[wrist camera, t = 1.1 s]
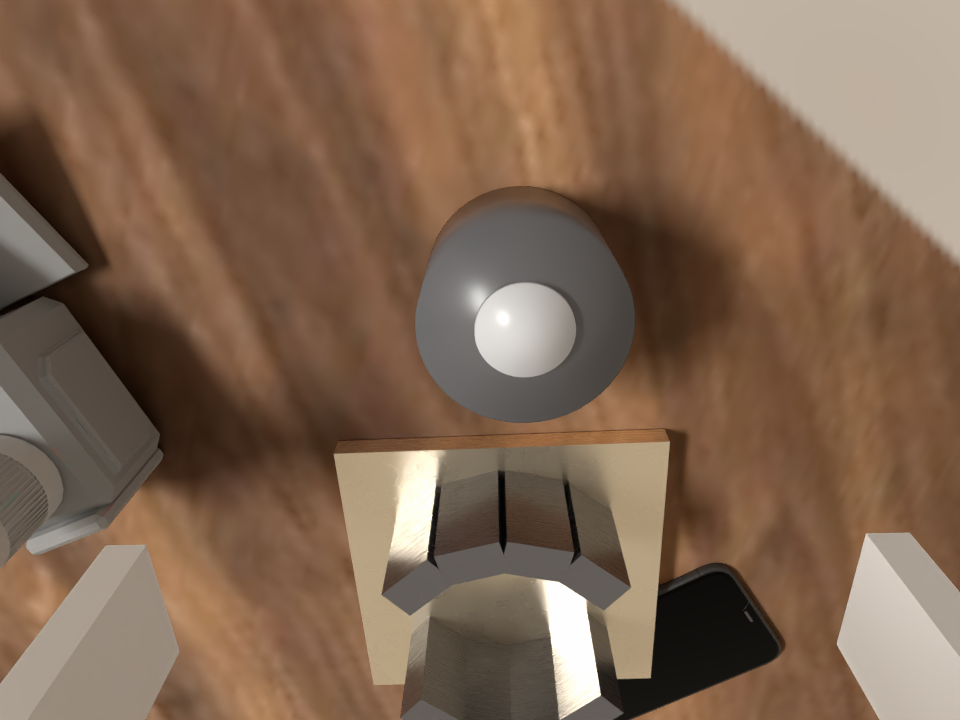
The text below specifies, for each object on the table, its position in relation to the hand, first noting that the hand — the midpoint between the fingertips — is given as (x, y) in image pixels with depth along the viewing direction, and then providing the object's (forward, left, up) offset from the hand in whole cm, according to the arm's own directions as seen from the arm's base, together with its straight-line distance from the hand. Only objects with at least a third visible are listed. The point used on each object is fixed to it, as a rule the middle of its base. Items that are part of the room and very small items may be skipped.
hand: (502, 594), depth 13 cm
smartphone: (+20, +6, -16) cm, 26 cm away
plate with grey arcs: (+13, 0, -15) cm, 20 cm away
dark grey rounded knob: (-1, +1, -15) cm, 15 cm away
